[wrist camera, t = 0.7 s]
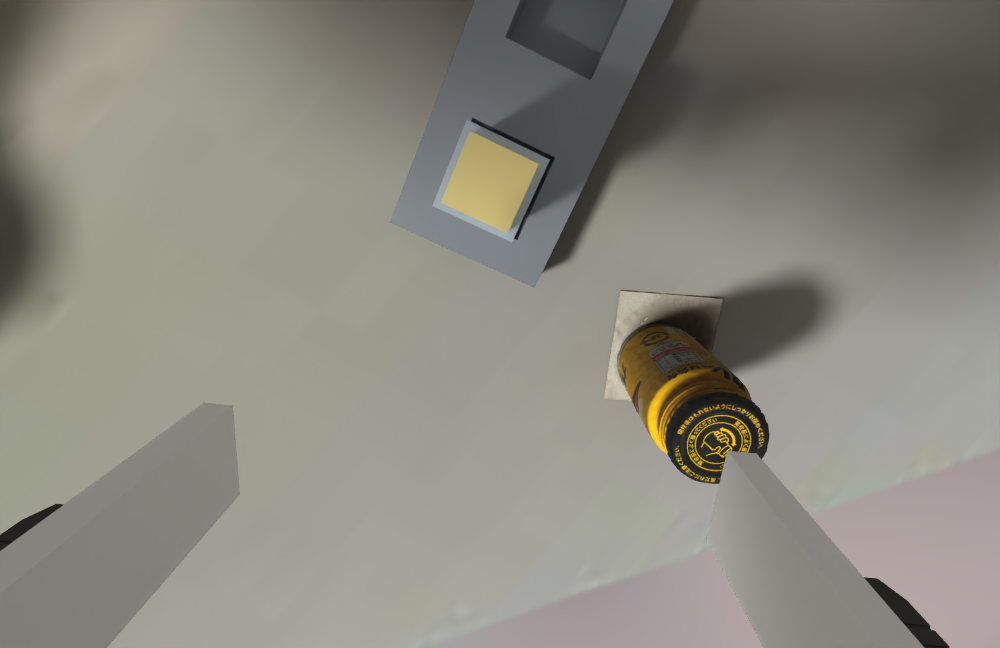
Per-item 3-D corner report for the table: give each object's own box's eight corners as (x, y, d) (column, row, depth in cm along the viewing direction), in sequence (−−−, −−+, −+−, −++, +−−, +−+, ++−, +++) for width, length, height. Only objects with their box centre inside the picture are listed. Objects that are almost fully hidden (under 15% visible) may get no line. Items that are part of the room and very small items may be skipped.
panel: (401, 217, 34) (389, 222, 31) (524, -101, 29) (526, -137, 25) (532, 277, 35) (534, 287, 32) (675, -21, 30) (696, -45, 26)
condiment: (603, 397, 38) (643, 494, 26) (619, 290, 35) (671, 345, 24) (698, 405, 38) (779, 505, 26) (721, 297, 35) (821, 357, 24)
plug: (457, 195, 33) (428, 207, 22) (481, 137, 32) (464, 117, 20) (511, 220, 34) (511, 245, 22) (537, 164, 33) (551, 158, 21)
